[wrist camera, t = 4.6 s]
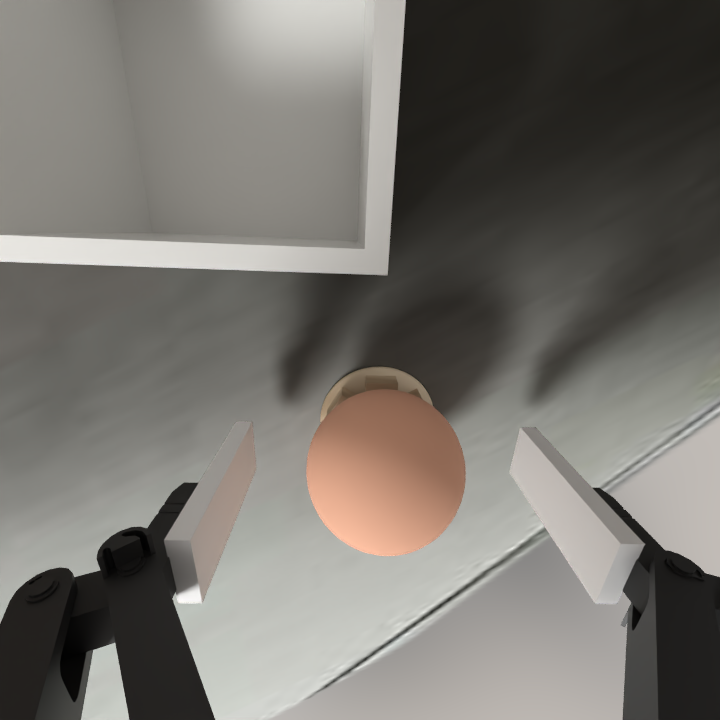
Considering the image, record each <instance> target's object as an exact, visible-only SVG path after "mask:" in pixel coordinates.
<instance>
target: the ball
mask: <svg viewBox="0 0 720 720" xmlns="http://www.w3.org/2000/svg"><path fill="white" fill-rule="evenodd" d="M306 473H307V482H308V489H309V493H310V496H311V499H312V502H313V505H314V507H315V509H316V511H317V513H318V515H319V516H320V518H321V520H322V521H323V523H324V524H325V525H326V526H327V527H328V528H329V530H330V531H331V532H332V533H333V534H334V535H335V536H336V537H338V538H339V539H340V540H342V541H343V542H345V543H346V544H348V545H349V546H351V547H353V548H355V549H357V550H359V551H362V552H365V553H369V554H373V555H380V556H397V555H403V554H407V553H411V552H413V551H416V550H418V549H420V548H422V547H424V546H426V545H428V544H429V543H431V542H432V541H434V540H435V539H436V538H438V537H439V536H440V535H441V534H442V533H443V532H444V530H445V529H446V528H447V527H448V526H449V524H450V523H451V522H452V520H453V518H454V517H455V515H456V513H457V511H458V508H459V506H460V504H461V501H462V497H463V493H464V488H465V475H466V472H465V461H464V456H463V452H462V448H461V446H460V443H459V441H458V438H457V436H456V434H455V432H454V430H453V429H452V427H451V425H450V424H449V422H448V421H447V420H446V419H445V418H444V416H443V415H442V414H441V413H440V412H439V411H438V410H436V409H435V408H434V407H433V406H432V405H431V404H429V403H428V402H426V401H425V400H423V399H421V398H419V397H417V396H415V395H413V394H410V393H407V392H403V391H398V390H390V389H378V390H371V391H366V392H363V393H359V394H357V395H354V396H352V397H350V398H348V399H346V400H344V401H343V402H341V403H340V404H339V405H337V406H336V407H335V408H334V409H333V410H332V411H331V412H330V413H329V414H328V415H327V416H326V417H325V418H324V420H323V421H322V422H321V424H320V426H319V427H318V429H317V431H316V433H315V434H314V437H313V439H312V442H311V445H310V448H309V453H308V457H307V472H306Z"/></svg>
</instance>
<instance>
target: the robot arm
mask: <svg viewBox="0 0 720 720" xmlns="http://www.w3.org/2000/svg"><path fill="white" fill-rule="evenodd" d="M255 471H256V458H255V447H254V436H253V424H252V422H249V421H236V422H235V424H234V426H233V427H232V429H231V431H230V432H229V434H228V435H227V437H226V439H225V440H224V442H223V444H222V445H221V447H220V449H219V450H218V452H217V454H216V455H215V457H214V459H213V460H212V462H211V463H210V465H209V467H208V468H207V470H206V472H205V473H204V475H203V477H202V478H201V480H200V482H199V483H183V484H182V485H180V486H179V487H178V488H177V489H175V490H174V491H173V492H172V493H171V495H170V496H169V497H168V499H167V500H166V502H165V505H163V506H162V508H161V509H160V511H159V513H158V514H157V515H156V516H155V518H154V519H153V521H152V522H151V524H150V525H149V527H148V528H143V527H131V528H128V529H125V530H122V531H120V532H118V533H116V534H115V535H113V536H111V537H110V538H109V539H108V540H107V541H105V542H104V543H103V544H102V546H101V547H100V549H99V550H98V554H97V561H98V564H99V567H100V571H97V572H93V573H89V574H85V575H82V576H78V577H74V576H73V573H72V572H71V571H70V570H69V569H67V568H55V569H50V570H47V571H45V572H43V573H40V574H38V575H36V576H35V577H33V578H32V579H30V580H29V581H27V582H26V583H25V584H23V585H22V586H21V587H20V588H19V589H18V590H17V591H16V592H15V594H14V595H13V597H12V599H11V600H10V602H9V605H8V607H7V609H6V612H5V614H4V616H3V619H2V621H1V624H0V720H81V715H82V710H83V704H84V698H85V693H86V687H87V681H88V676H89V670H90V665H91V659H92V653H93V650H94V649H97V648H100V647H103V646H106V645H109V644H112V643H116V649H117V654H118V659H119V665H120V670H121V676H122V681H123V686H124V692H125V697H126V703H127V708H128V714H129V719H130V720H215V718H214V715H213V712H212V710H211V707H210V704H209V701H208V698H207V696H206V693H205V690H204V687H203V684H202V681H201V679H200V676H199V673H198V670H197V667H196V665H195V662H194V659H193V656H192V653H191V650H190V648H189V645H188V642H187V639H186V636H185V634H184V631H183V628H182V625H181V622H180V619H179V617H178V614H177V611H176V608H175V605H174V603H173V600H172V598H173V596H174V594H175V592H176V595H177V599H178V603H203V600H204V598H205V595H206V593H207V590H208V588H209V585H210V583H211V580H212V578H213V575H214V573H215V570H216V568H217V565H218V563H219V560H220V558H221V555H222V553H223V550H224V548H225V545H226V543H227V540H228V538H229V535H230V533H231V531H232V528H233V526H234V523H235V521H236V518H237V516H238V513H239V511H240V508H241V506H242V503H243V501H244V498H245V496H246V493H247V491H248V488H249V486H250V483H251V481H252V478H253V476H254V473H255ZM509 473H510V474H511V476H512V477H513V479H514V480H515V482H516V483H517V485H518V486H519V488H520V489H521V491H522V493H523V494H524V496H525V497H526V499H527V500H528V502H529V503H530V505H531V506H532V508H533V509H534V511H535V512H536V514H537V516H538V517H539V519H540V520H541V522H542V523H543V525H544V526H545V528H546V529H547V531H548V532H549V534H550V535H551V537H552V538H553V540H554V541H555V543H556V545H557V546H558V547H559V549H560V551H561V552H562V554H563V555H564V557H565V558H566V560H567V561H568V563H569V565H570V566H571V567H572V569H573V570H574V572H575V574H576V575H577V577H578V578H579V580H580V581H581V583H582V584H583V586H584V587H585V589H586V591H587V592H588V594H589V595H590V597H591V598H592V600H593V601H594V603H595V604H617V603H618V601H619V599H620V597H621V595H622V593H623V592H624V593H625V594H626V596H627V597H628V598H629V600H630V601H631V602H632V603H631V605H630V607H629V609H628V611H627V613H626V615H625V617H624V619H623V621H622V624H621V625H622V626H623V627H625V626H626V624H627V623H628V624H627V644H626V645H627V646H626V664H625V685H624V703H623V720H720V577H717V576H713V575H709V574H706V573H704V571H703V570H702V569H701V568H700V567H699V566H697V565H696V564H695V563H693V562H692V561H691V560H689V559H687V558H685V557H684V556H682V555H680V554H677V553H674V552H671V551H665V550H664V549H663V548H662V547H661V546H660V545H659V544H658V543H657V542H656V541H655V540H654V539H653V538H652V537H651V536H650V535H649V534H648V532H646V531H645V530H644V528H643V527H642V526H641V525H639V523H638V522H637V521H635V519H632V516H631V515H630V514H629V513H628V512H627V511H626V510H624V509H623V507H622V506H621V505H620V504H619V503H618V502H617V501H616V500H615V499H614V498H613V497H612V496H610V495H609V494H607V493H606V492H604V491H603V490H601V489H600V488H592V487H591V486H590V485H589V484H588V483H587V482H586V481H585V480H584V479H583V478H582V476H581V475H580V474H579V473H578V472H577V471H576V470H575V469H574V468H573V467H572V466H571V465H570V464H569V463H568V462H567V460H566V459H565V458H564V457H563V456H562V455H561V454H560V453H559V452H558V451H557V450H556V449H555V448H554V447H553V446H552V444H551V443H550V442H549V441H548V440H547V439H546V438H545V437H544V436H543V435H542V434H541V433H540V432H539V431H538V429H537V428H536V427H520V431H519V435H518V439H517V443H516V447H515V452H514V456H513V460H512V464H511V468H510V472H509Z"/></svg>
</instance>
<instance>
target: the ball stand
mask: <svg viewBox="0 0 720 720" xmlns="http://www.w3.org/2000/svg"><path fill="white" fill-rule="evenodd" d="M378 389H390V390H398V391H403V392H407V393H410V394H413V395H415V396H417V397H419V398H421V399H423V400H425V401H426V402H428V403H429V404H431V405H432V406H433V404H432V401H431V399H430V396H429V394H428V393H427V391H426V389H425V388H424V387H423V385H422V384H421V383H420V382H419V381H418V380H417V379H415V378H414V377H413V376H411V375H410V374H408V373H406V372H404V371H401V370H398V369H395V368H390V367H381V366H379V367H368V368H363V369H360V370H357V371H354V372H352V373H350V374H348V375H346V376H345V377H343V378H342V379H341V380H339V381H338V382H337V383H336V384H335V385H334V386H333V387H332V388H331V390H330V391H329V392H328V394H327V396H326V398H325V400H324V402H323V405H322V410H321V418H320V423H321V422H322V421H323V420H324V418H325V417H326V416H327V415H328V414H329V413H330V412H331V411H332V410H333V409H334V408H335V407H336V406H337V405H339V404H340V403H341V402H343V401H344V400H346V399H348V398H350V397H352V396H354V395H357V394H359V393H363V392H366V391H371V390H378Z"/></svg>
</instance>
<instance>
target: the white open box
mask: <svg viewBox="0 0 720 720" xmlns="http://www.w3.org/2000/svg"><path fill="white" fill-rule="evenodd" d="M405 4H406V0H0V262H27V263H55V264H83V265H111V266H139V267H168V268H196V269H224V270H252V271H281V272H309V273H337V274H365V275H388V261H389V246H390V230H391V215H392V200H393V185H394V170H395V155H396V140H397V125H398V110H399V95H400V79H401V64H402V49H403V34H404V19H405Z"/></svg>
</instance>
